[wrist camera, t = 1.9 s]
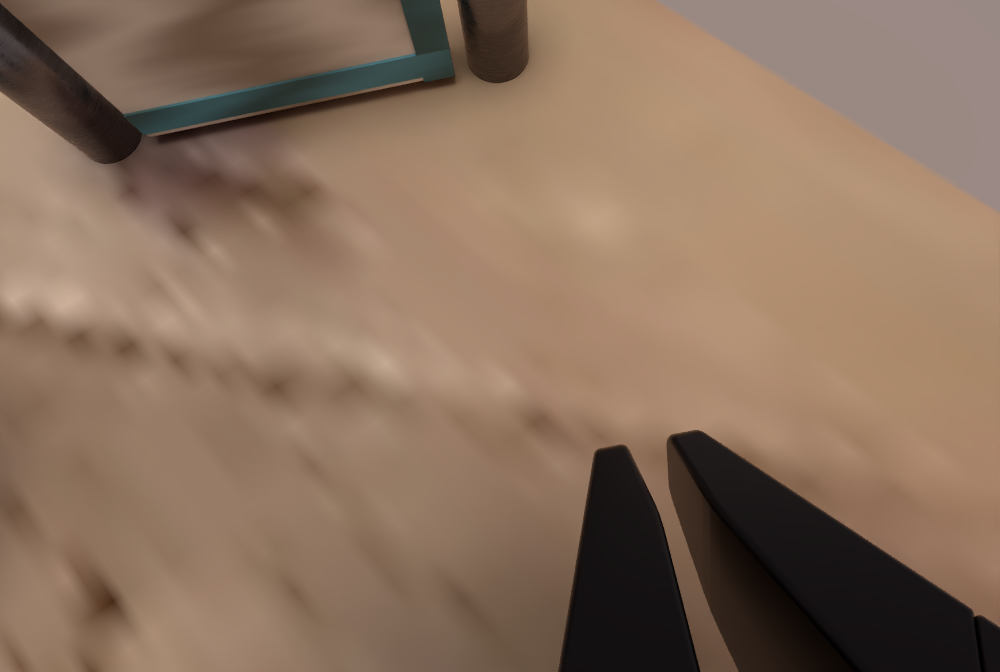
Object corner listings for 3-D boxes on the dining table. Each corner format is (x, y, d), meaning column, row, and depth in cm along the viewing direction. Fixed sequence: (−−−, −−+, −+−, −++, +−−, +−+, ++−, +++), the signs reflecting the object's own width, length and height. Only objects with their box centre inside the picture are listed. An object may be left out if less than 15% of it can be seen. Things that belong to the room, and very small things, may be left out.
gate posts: (83, 168, 24) (-133, 17, 17) (82, 115, 25) (-126, -54, 17) (534, 75, 24) (529, -124, 16) (521, 24, 25) (512, -192, 17)
